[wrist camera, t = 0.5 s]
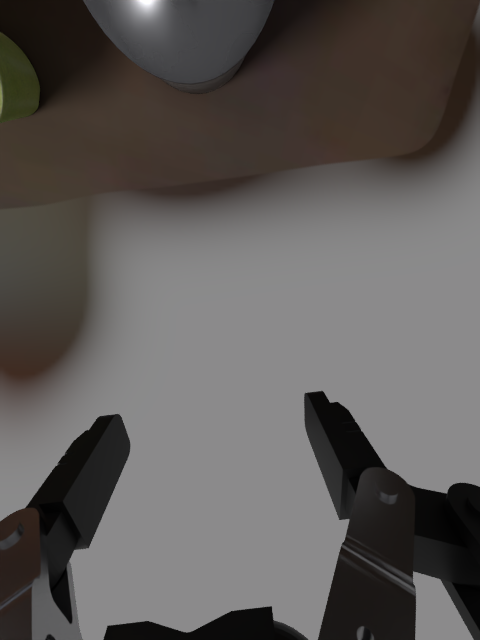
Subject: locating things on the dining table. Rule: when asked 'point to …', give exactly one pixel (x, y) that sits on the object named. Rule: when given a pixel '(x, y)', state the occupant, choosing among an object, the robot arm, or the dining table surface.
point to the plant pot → (16, 82)
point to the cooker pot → (184, 37)
